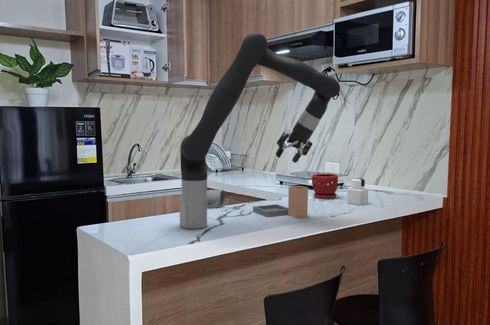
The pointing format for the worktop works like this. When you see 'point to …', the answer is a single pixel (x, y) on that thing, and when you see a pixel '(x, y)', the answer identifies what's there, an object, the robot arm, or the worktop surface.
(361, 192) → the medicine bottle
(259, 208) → the tray
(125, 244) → the worktop surface
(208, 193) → the ceramic mug
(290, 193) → the cup
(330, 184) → the plant pot
